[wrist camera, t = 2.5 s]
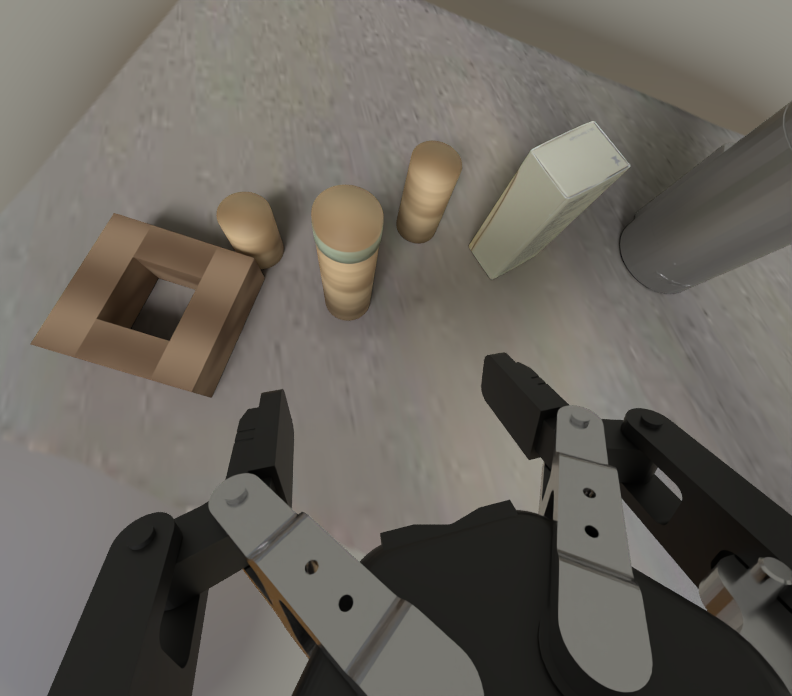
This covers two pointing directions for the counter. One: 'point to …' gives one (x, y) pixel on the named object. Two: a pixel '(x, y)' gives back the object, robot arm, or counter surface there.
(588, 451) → the robot arm
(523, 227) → the skincare box
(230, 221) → the short pin
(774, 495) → the counter surface
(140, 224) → the socket block
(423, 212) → the medium pin
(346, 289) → the tall pin
